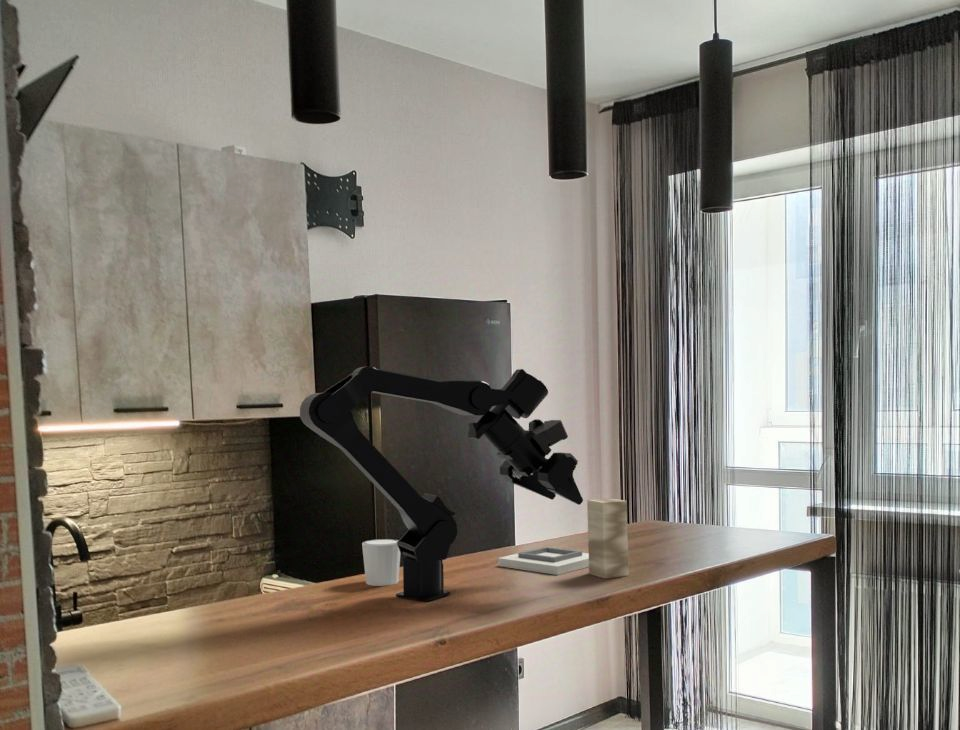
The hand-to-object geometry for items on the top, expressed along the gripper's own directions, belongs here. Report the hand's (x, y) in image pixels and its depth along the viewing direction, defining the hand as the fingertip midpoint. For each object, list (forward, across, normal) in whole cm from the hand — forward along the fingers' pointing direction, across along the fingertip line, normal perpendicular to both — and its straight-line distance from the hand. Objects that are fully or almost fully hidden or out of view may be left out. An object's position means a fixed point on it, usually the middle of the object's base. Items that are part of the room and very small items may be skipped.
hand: (567, 500), depth 147 cm
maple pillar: (+15, 0, +4) cm, 16 cm away
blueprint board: (+12, +13, +7) cm, 19 cm away
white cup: (-11, +14, +30) cm, 35 cm away
